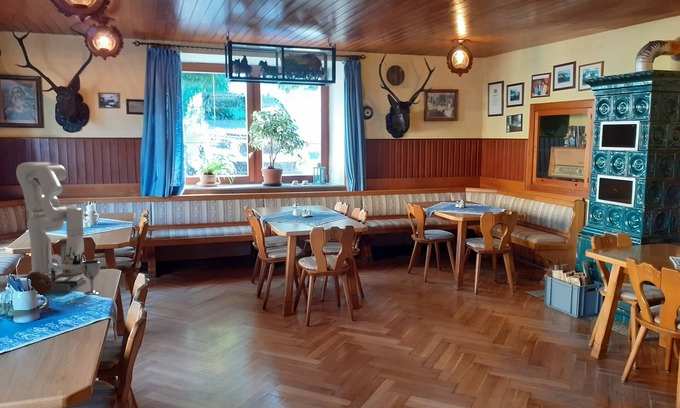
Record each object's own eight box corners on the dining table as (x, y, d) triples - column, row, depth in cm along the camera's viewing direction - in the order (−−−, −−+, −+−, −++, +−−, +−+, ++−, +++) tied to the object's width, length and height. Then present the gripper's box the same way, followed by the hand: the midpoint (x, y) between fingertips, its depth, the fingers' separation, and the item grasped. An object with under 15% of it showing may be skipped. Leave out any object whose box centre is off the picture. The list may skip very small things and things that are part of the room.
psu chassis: (55, 282, 264) (54, 267, 263) (85, 282, 264) (85, 267, 263) (35, 293, 245) (35, 277, 244) (68, 293, 246) (67, 277, 245)
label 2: (73, 278, 260) (73, 277, 260) (80, 278, 260) (80, 277, 260) (68, 280, 255) (68, 280, 255) (76, 280, 256) (76, 280, 255)
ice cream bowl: (45, 308, 223) (43, 274, 221) (19, 308, 223) (17, 274, 222) (59, 301, 234) (57, 268, 232) (34, 300, 234) (32, 268, 232)
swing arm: (46, 270, 255) (46, 264, 254) (50, 268, 259) (50, 263, 258) (84, 271, 256) (84, 265, 255) (87, 269, 260) (87, 263, 259)
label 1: (61, 278, 260) (61, 277, 260) (68, 278, 260) (68, 277, 260) (56, 280, 255) (56, 280, 255) (63, 280, 255) (63, 280, 255)
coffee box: (79, 270, 287) (78, 242, 285) (83, 273, 283) (81, 244, 281) (61, 273, 281) (60, 244, 279) (64, 275, 277) (63, 246, 275)
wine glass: (104, 290, 251) (103, 260, 249) (95, 295, 243) (94, 264, 241) (89, 290, 251) (87, 259, 250) (79, 294, 244) (77, 263, 242)
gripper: (74, 229, 268) (75, 264, 270) (60, 234, 253) (62, 271, 255) (89, 229, 268) (90, 264, 270) (76, 234, 253) (78, 271, 256)
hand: (76, 267), depth 263 cm, fingers closed
